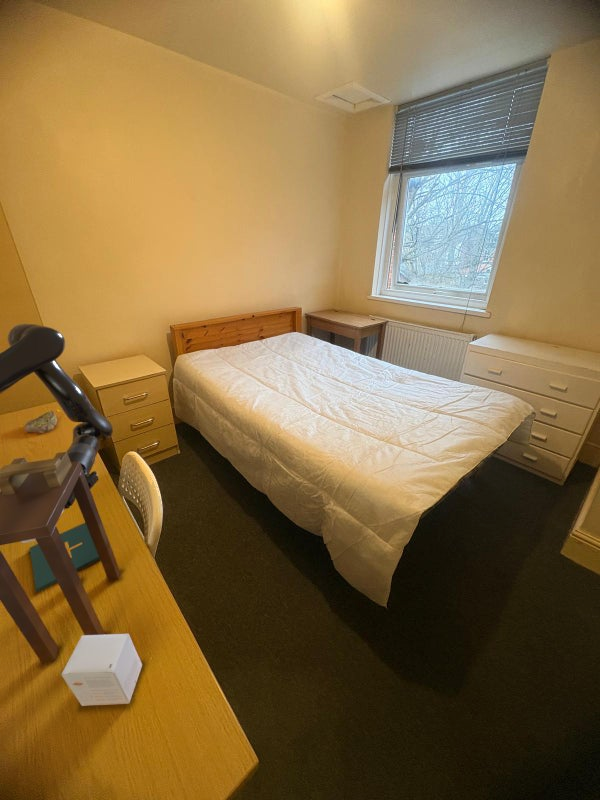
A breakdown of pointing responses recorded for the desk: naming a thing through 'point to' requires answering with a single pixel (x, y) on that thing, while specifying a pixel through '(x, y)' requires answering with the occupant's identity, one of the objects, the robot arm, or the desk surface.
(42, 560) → the board
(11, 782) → the desk surface
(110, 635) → the small box
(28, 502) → the stand
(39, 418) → the rock
